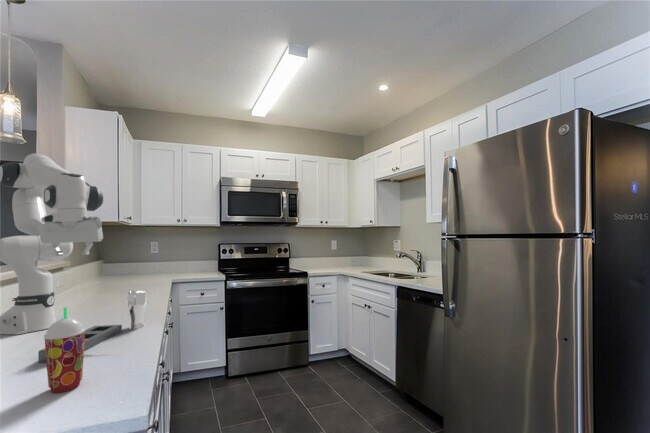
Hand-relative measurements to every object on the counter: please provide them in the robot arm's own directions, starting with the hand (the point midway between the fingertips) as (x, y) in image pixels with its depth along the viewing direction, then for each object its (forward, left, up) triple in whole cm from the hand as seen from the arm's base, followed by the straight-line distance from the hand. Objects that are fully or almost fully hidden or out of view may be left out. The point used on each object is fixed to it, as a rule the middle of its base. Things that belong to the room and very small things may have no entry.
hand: (72, 255), depth 124 cm
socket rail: (+8, -6, -31) cm, 33 cm away
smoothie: (+24, -38, -31) cm, 55 cm away
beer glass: (+16, +13, -31) cm, 38 cm away
